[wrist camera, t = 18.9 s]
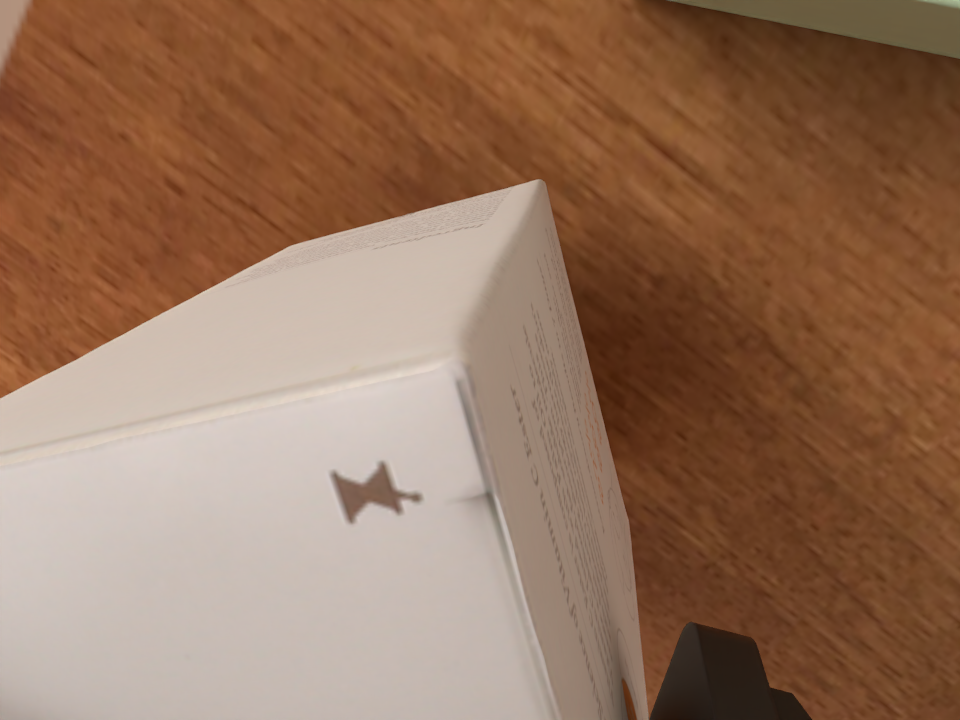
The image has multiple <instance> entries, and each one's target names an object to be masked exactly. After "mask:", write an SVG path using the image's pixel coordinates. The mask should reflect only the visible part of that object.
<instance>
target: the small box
mask: <svg viewBox="0 0 960 720" xmlns="http://www.w3.org/2000/svg"><path fill="white" fill-rule="evenodd" d="M0 720H649V717H648V707H647V697H646V687H645V677H644V667H643V657H642V648H641V638H640V628H639V617H638V607H637V596H636V585H635V575H634V565H633V556H632V544H631V536H630V527H629V520H628V517H627V513H626V510H625V506H624V502H623V498H622V494H621V490H620V486H619V482H618V478H617V474H616V470H615V466H614V462H613V458H612V454H611V450H610V446H609V442H608V438H607V433H606V429H605V425H604V421H603V417H602V413H601V409H600V405H599V401H598V397H597V393H596V389H595V385H594V381H593V377H592V373H591V369H590V365H589V361H588V357H587V353H586V349H585V345H584V341H583V337H582V333H581V329H580V324H579V320H578V316H577V312H576V308H575V304H574V300H573V296H572V292H571V288H570V284H569V280H568V276H567V272H566V268H565V264H564V260H563V256H562V251H561V247H560V243H559V239H558V235H557V231H556V226H555V222H554V218H553V214H552V209H551V205H550V200H549V196H548V191H547V186H546V184H545V182H544V181H543V180H540V179H537V180H534V181H530V182H527V183H523V184H520V185H516V186H513V187H509V188H506V189H502V190H498V191H494V192H491V193H487V194H483V195H479V196H475V197H471V198H467V199H464V200H460V201H456V202H452V203H448V204H444V205H440V206H437V207H433V208H429V209H426V210H422V211H418V212H415V213H411V214H407V215H404V216H400V217H396V218H393V219H389V220H385V221H381V222H377V223H374V224H370V225H366V226H362V227H358V228H354V229H351V230H347V231H343V232H339V233H335V234H332V235H328V236H324V237H320V238H317V239H313V240H309V241H306V242H302V243H299V244H295V245H292V246H289V247H287V248H285V249H283V250H282V251H280V252H278V253H276V254H274V255H272V256H270V257H269V258H267V259H265V260H263V261H261V262H259V263H257V264H255V265H253V266H251V267H249V268H247V269H245V270H243V271H241V272H240V273H238V274H236V275H234V276H232V277H230V278H228V279H227V280H225V281H223V282H221V283H219V284H217V285H215V286H213V287H212V288H210V289H208V290H206V291H204V292H202V293H200V294H198V295H197V296H195V297H193V298H191V299H189V300H187V301H185V302H183V303H181V304H179V305H177V306H175V307H173V308H171V309H170V310H168V311H166V312H164V313H162V314H160V315H158V316H156V317H155V318H153V319H151V320H149V321H147V322H145V323H143V324H141V325H139V326H138V327H136V328H134V329H132V330H130V331H129V332H127V333H125V334H123V335H122V336H120V337H118V338H116V339H114V340H112V341H110V342H108V343H106V344H104V345H102V346H100V347H98V348H96V349H95V350H93V351H91V352H89V353H88V354H86V355H84V356H82V357H80V358H79V359H77V360H75V361H73V362H71V363H69V364H67V365H65V366H63V367H61V368H59V369H57V370H55V371H53V372H51V373H49V374H47V375H45V376H42V377H41V378H39V379H37V380H35V381H33V382H31V383H29V384H27V385H25V386H23V387H21V388H19V389H18V390H16V391H14V392H12V393H10V394H8V395H6V396H4V397H2V398H0Z"/></svg>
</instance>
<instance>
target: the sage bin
mask: <svg viewBox="0 0 960 720" xmlns="http://www.w3.org/2000/svg"><path fill="white" fill-rule="evenodd" d="M667 1H672V2H677V3H682V4H687V5H693V6H698V7H703V8H708V9H713V10H718V11H723V12H728V13H733V14H738V15H743V16H748V17H753V18H758V19H763V20H768V21H773V22H778V23H783V24H788V25H793V26H798V27H803V28H808V29H813V30H818V31H823V32H828V33H833V34H838V35H843V36H848V37H853V38H858V39H863V40H868V41H873V42H878V43H883V44H888V45H893V46H898V47H903V48H908V49H913V50H918V51H923V52H928V53H933V54H938V55H943V56H948V57H953V58H958V59H960V0H667Z"/></svg>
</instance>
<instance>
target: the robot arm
mask: <svg viewBox="0 0 960 720" xmlns="http://www.w3.org/2000/svg"><path fill="white" fill-rule="evenodd" d="M650 720H812V719H811V717H810V716H809V715H808V713H807V712H806V711H805V710H804V708H803V707H802V706H801V704H800V703H799V702H798V700H797V699H796V698H795V696H794V695H793V694H792V693H789V692H785V691H781V690H777V689H774V688H770V686H769V683H768V680H767V677H766V673H765V670H764V667H763V664H762V660H761V657H760V654H759V651H758V647H757V645H756V643H755V641H754V640H753V639H752V638H751V637H747V636H744V635H740V634H736V633H732V632H728V631H724V630H720V629H717V628H713V627H709V626H705V625H701V624H697V623H693V622H689V623H688V624H687V625H686V626H685V627H684V629H683V631H682V633H681V635H680V638H679V641H678V643H677V646H676V649H675V651H674V654H673V657H672V659H671V662H670V665H669V667H668V670H667V673H666V676H665V678H664V681H663V684H662V686H661V689H660V692H659V694H658V697H657V700H656V702H655V705H654V708H653V710H652V713H651V716H650Z"/></svg>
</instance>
